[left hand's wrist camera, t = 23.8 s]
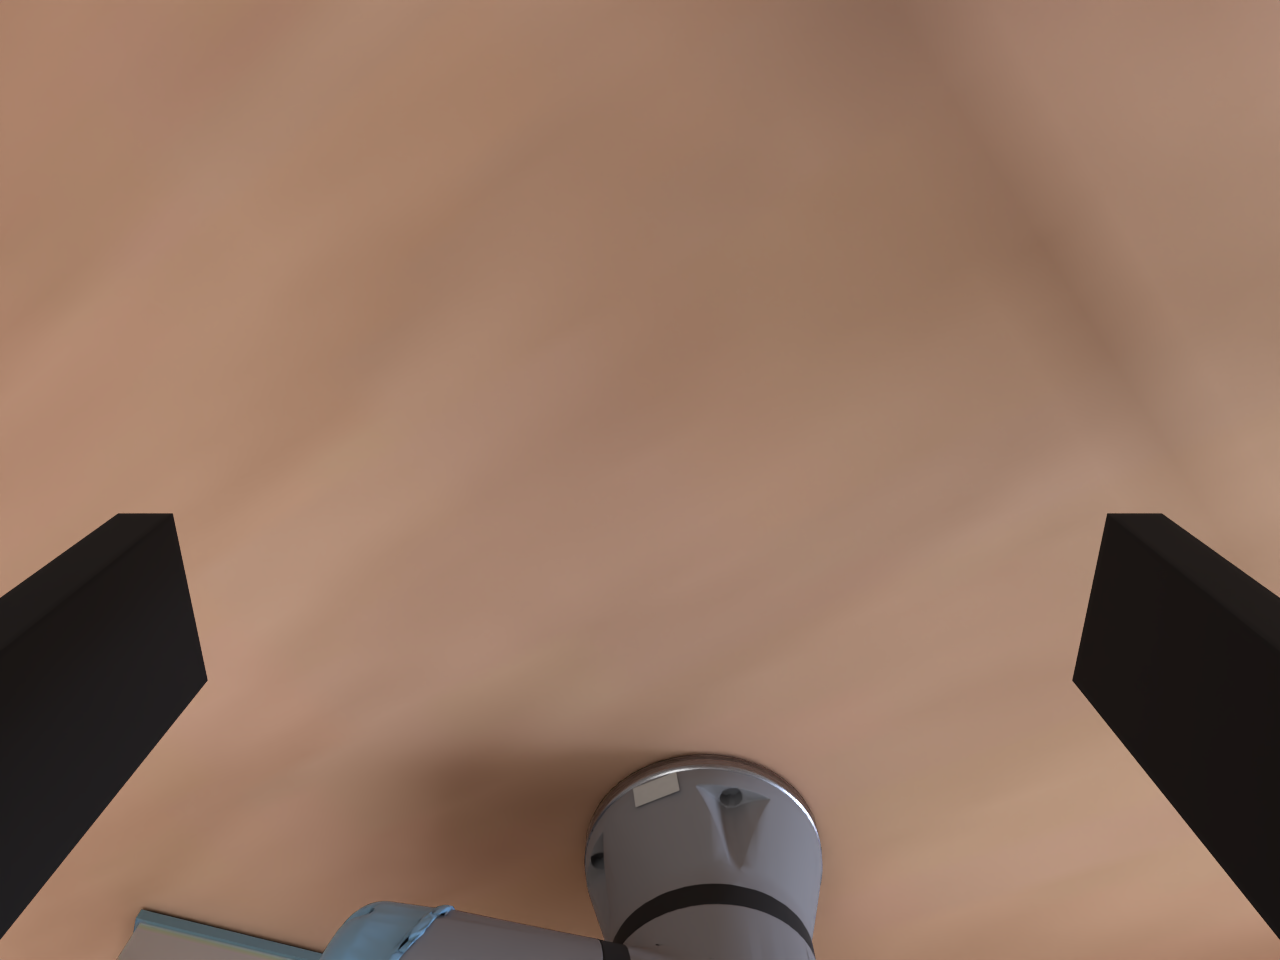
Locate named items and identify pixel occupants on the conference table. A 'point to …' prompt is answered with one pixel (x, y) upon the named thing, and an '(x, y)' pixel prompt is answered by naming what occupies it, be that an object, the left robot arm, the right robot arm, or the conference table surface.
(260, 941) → the book
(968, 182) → the conference table surface
